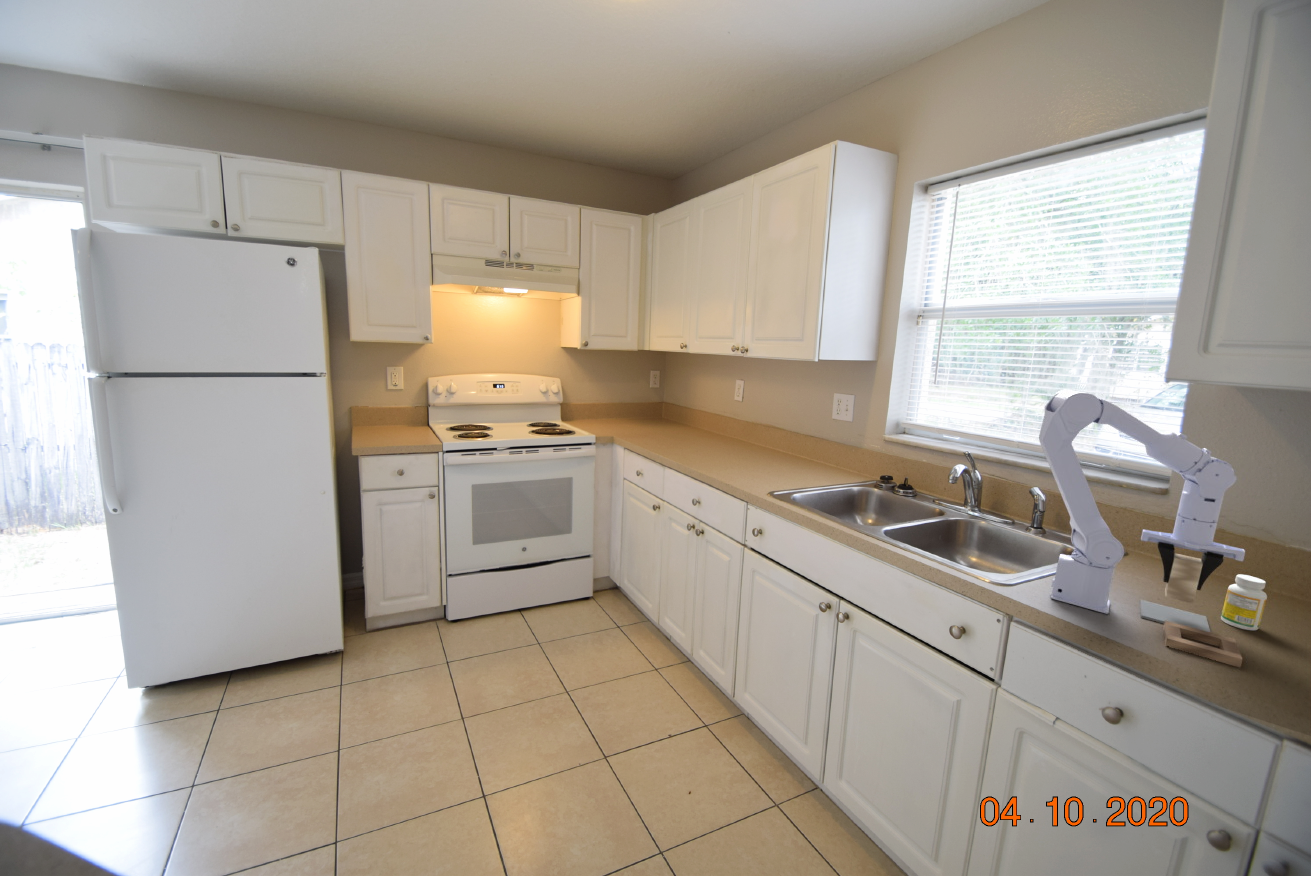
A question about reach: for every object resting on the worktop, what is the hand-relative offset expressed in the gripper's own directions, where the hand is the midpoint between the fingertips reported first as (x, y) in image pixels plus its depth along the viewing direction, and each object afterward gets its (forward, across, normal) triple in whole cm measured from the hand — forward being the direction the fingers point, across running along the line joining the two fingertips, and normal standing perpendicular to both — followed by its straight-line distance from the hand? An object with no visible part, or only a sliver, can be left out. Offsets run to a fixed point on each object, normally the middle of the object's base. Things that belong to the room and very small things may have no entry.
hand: (1181, 584), depth 112 cm
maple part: (+2, 0, 0) cm, 3 cm away
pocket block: (+7, +3, -12) cm, 14 cm away
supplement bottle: (+7, +10, +7) cm, 14 cm away
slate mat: (+7, 0, 0) cm, 7 cm away
